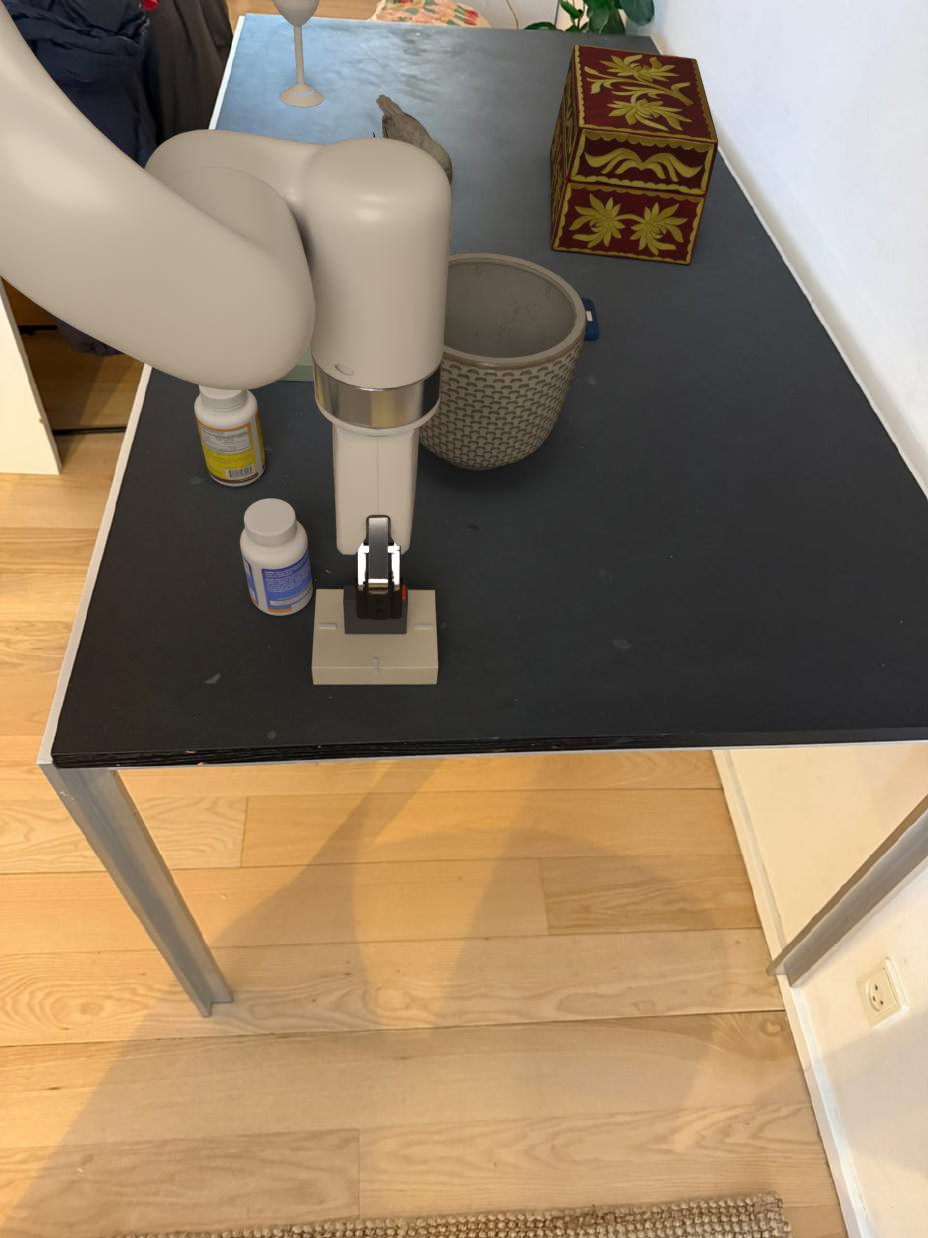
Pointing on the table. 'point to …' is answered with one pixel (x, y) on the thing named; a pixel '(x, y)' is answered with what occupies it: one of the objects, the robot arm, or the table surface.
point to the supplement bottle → (230, 435)
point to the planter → (503, 360)
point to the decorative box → (631, 156)
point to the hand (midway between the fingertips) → (379, 563)
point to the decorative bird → (411, 132)
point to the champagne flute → (299, 50)
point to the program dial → (368, 625)
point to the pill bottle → (276, 558)
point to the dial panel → (374, 645)
